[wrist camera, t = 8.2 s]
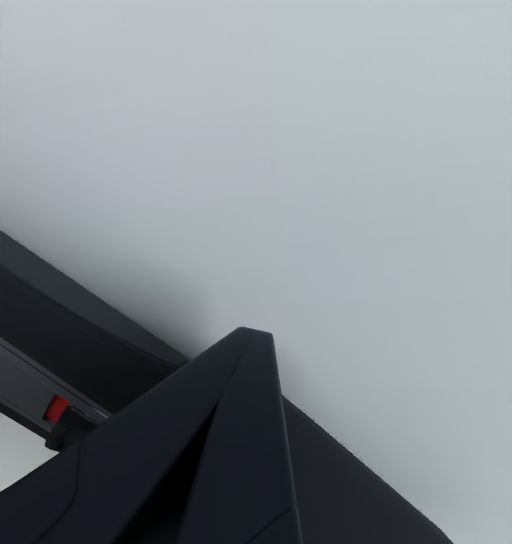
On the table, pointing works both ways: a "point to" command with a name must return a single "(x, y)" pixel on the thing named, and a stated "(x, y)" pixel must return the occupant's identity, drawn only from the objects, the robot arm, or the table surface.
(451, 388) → the table surface
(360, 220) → the table surface
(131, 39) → the table surface
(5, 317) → the electric trimmer
